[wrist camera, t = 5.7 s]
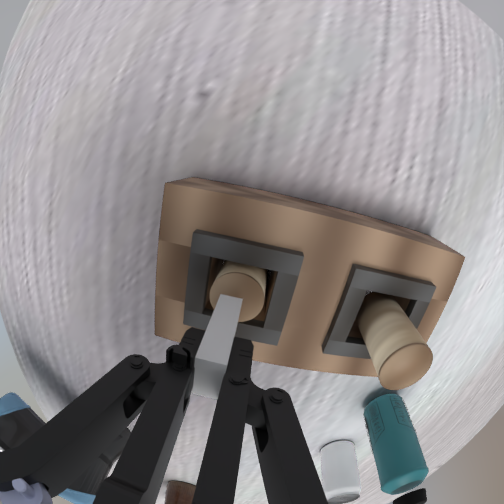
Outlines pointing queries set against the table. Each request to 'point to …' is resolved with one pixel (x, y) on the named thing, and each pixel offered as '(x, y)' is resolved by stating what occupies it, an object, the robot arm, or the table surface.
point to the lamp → (179, 493)
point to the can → (340, 472)
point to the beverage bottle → (396, 448)
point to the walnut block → (294, 271)
